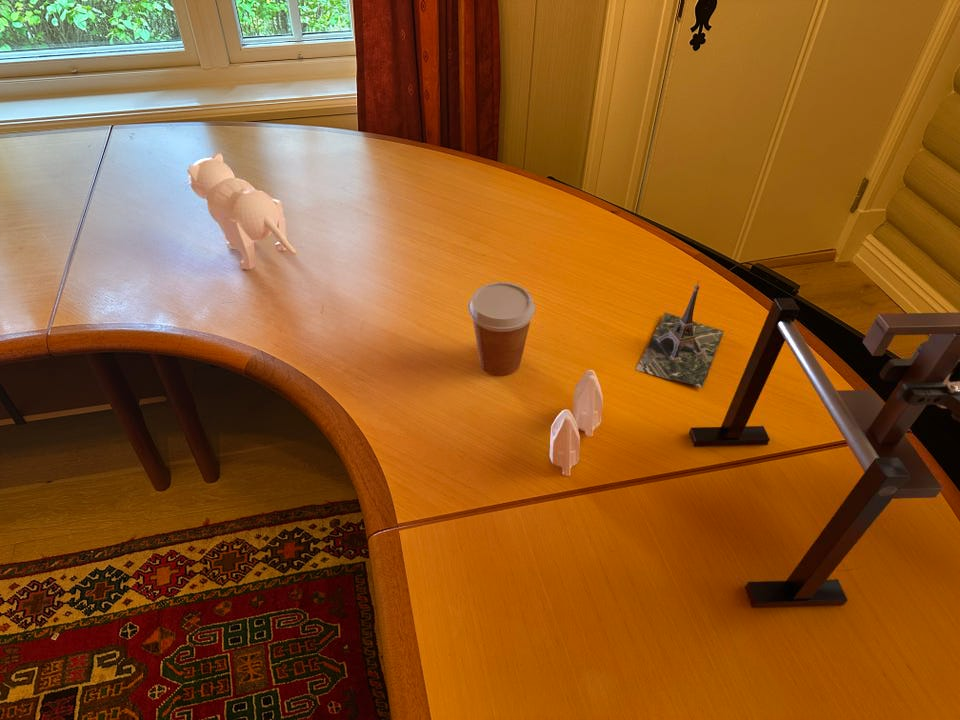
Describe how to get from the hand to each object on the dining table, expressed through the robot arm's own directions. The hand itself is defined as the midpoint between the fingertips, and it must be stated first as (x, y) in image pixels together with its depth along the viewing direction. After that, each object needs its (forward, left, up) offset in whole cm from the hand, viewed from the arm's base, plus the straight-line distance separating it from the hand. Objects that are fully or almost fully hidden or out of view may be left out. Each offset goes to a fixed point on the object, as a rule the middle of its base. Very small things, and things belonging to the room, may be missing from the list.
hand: (893, 381), depth 60 cm
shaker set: (+26, +15, -21) cm, 37 cm away
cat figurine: (+97, +26, -21) cm, 103 cm away
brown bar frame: (0, 0, -10) cm, 10 cm away
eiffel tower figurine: (+27, -11, -21) cm, 36 cm away
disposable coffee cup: (+44, +12, -21) cm, 50 cm away
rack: (+4, +6, -21) cm, 22 cm away
